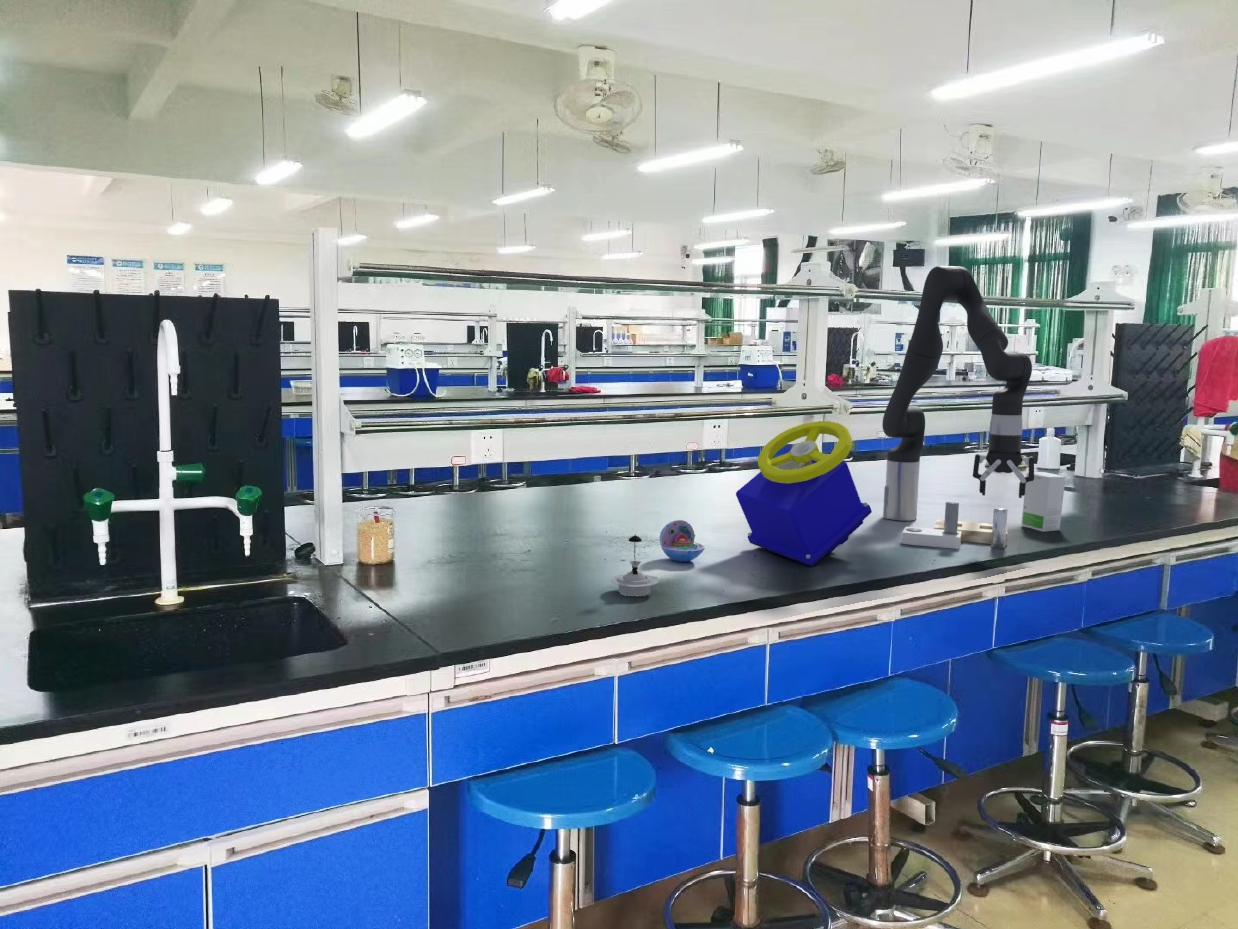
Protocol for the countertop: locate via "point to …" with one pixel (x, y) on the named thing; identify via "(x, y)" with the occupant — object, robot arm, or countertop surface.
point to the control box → (803, 495)
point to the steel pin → (999, 528)
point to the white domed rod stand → (634, 578)
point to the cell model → (680, 541)
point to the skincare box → (1043, 502)
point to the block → (937, 531)
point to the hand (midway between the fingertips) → (1001, 496)
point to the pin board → (972, 531)
